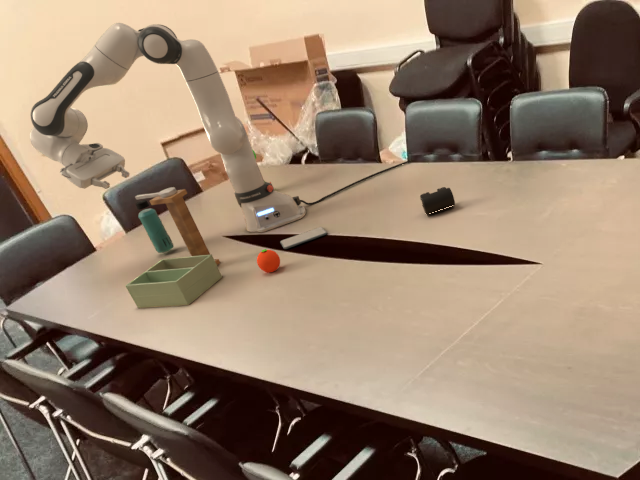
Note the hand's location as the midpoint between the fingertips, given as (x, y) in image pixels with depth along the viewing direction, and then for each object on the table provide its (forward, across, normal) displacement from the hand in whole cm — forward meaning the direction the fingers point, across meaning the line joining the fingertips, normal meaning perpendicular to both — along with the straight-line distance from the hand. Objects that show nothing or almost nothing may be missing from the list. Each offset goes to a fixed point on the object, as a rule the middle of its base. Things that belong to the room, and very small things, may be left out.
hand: (118, 181), depth 235 cm
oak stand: (+37, -5, +11) cm, 39 cm away
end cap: (+97, +23, -36) cm, 106 cm away
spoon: (+17, -5, -7) cm, 19 cm away
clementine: (+62, -11, -9) cm, 63 cm away
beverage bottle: (+14, +11, +29) cm, 34 cm away
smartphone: (+61, +11, -8) cm, 62 cm away
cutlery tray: (+39, -22, +9) cm, 46 cm away
